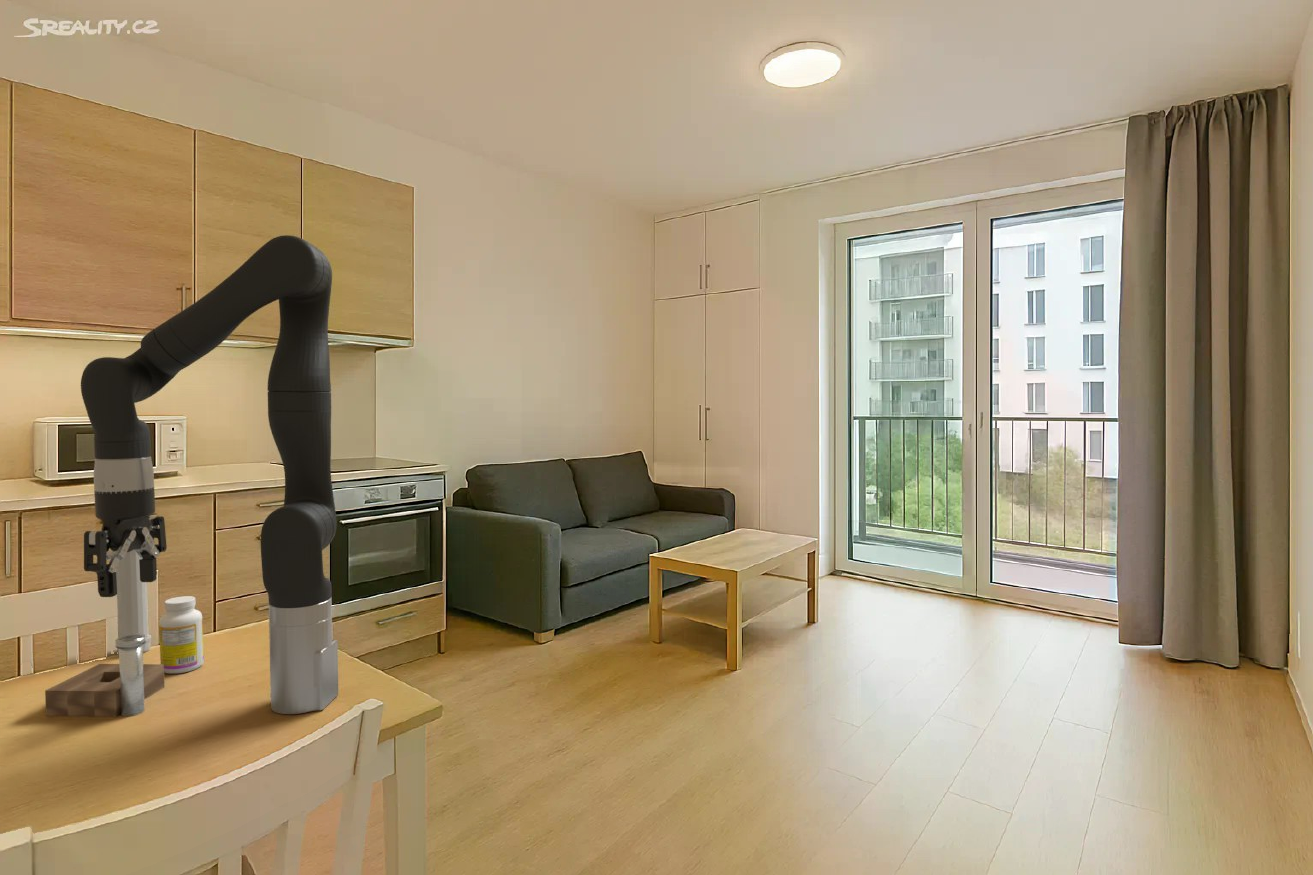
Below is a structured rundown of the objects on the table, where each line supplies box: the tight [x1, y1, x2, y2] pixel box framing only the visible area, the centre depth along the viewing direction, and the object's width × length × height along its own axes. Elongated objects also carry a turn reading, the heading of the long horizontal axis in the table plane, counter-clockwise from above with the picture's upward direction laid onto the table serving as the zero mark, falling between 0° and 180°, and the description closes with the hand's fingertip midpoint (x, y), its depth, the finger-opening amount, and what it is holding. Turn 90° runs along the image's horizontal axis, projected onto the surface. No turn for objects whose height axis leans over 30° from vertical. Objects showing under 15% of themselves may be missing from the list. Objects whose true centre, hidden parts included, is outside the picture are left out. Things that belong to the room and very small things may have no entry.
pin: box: [115, 634, 146, 717], centre depth 113 cm, size 4×4×12 cm
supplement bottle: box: [158, 595, 205, 675], centre depth 131 cm, size 7×7×13 cm
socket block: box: [44, 663, 165, 717], centre depth 117 cm, size 11×11×4 cm
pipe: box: [115, 550, 152, 655], centre depth 138 cm, size 6×6×30 cm
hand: (129, 588), depth 112 cm, fingers open, 8 cm apart
